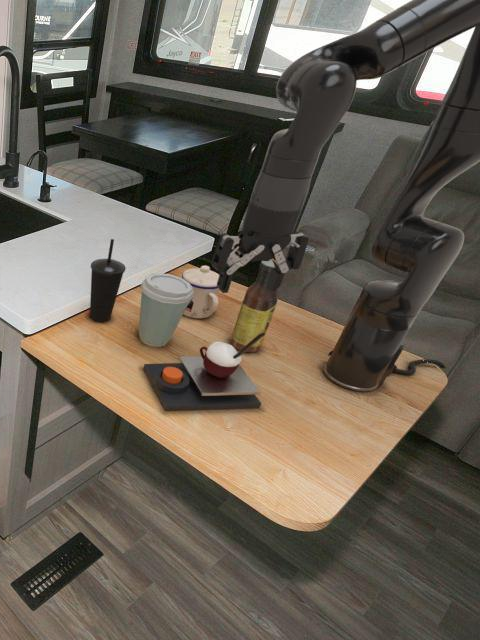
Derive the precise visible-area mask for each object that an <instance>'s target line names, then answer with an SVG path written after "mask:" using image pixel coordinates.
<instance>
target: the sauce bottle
mask: <svg viewBox="0 0 480 640" xmlns="http://www.w3.org/2000/svg"><path fill="white" fill-rule="evenodd" d="M272 268H275V266H274V264H273V262H272V260H271V259H270V260H269V261H262V260H261V262H260V265H259V270H258V273H257V276H256V278H255V281H254V282H253V283H252V284H251V285H250V286H248V288H247V289H246V291H245V294H244V296H243V297H244V298H243V300H242V301H241V304H240V308H239V311H238V314H237V317H236V320H235V324H234V326H233V330H232V333H231V338H230V345H232V346H233V347H234V348H235V349H236V350H237V351H240V350H241V349H243V348H244V347H245V346H246V345H247V344H248V343H249V342H251V341H252V340H253V339H254V338H255V337H256V336H257V335H259V334H261V333H265V335H264V336H263V337H262V338H260V339H259V340H258V341H257V342H256V343H255V344H253V345H252V346H251V347H250V348H249V349H248V350H246V351H245V352H244V353H256V352H258V351H259V350H260V348H261V346H262V345H263V343H264V341H265V337H266V334H267V331H268V330H269V326H270V323H271V321H272V318H273V315H274V313H275V310H276V307H277V304H278V289H277V290H276V291H275V292H270V291H269V290H268V289H267V288H266V283H267V280H268V277H269V275H270V272H271V269H272Z"/></svg>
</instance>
